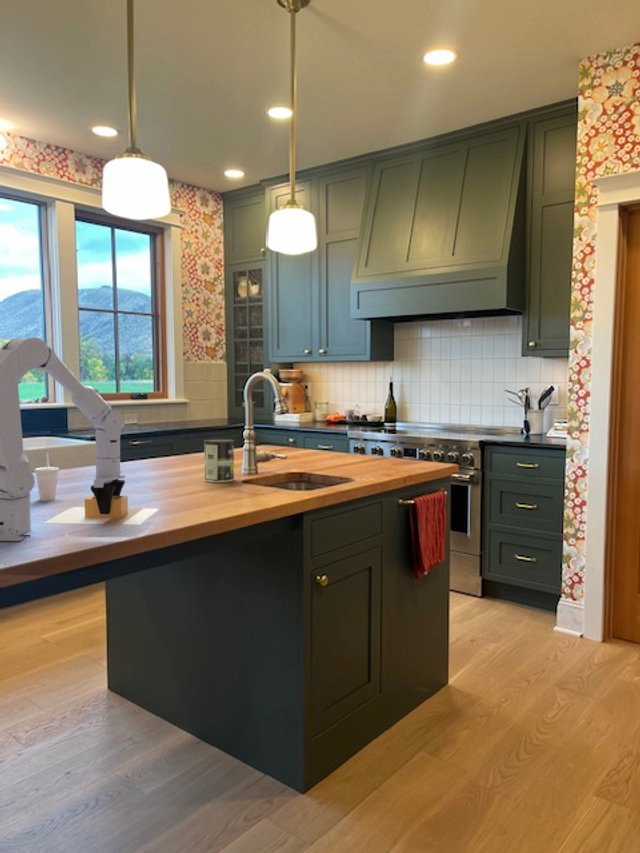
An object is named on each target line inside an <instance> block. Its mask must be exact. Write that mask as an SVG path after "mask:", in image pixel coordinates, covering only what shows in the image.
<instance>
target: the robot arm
mask: <svg viewBox="0 0 640 853" xmlns="http://www.w3.org/2000/svg"><path fill="white" fill-rule="evenodd" d="M32 370H39V371H42V372H46V373H47V374H48V375H49V376H50V377H52V378H53V379H54V380H55V381H56V382H57V383H58V384H60V385H61V386H62V388H64V389H65V390H66V391H67V392H68V393H69V394H70V395H71V401H72V402H71V403H72V404H73V405H74V406H75V407H76V408H77V409H78V410H79V411H80V412H81V413H82V414H83V415H85V417H86V418H87V419H88V420H89V422H90V426H91V428H92V429H94V430H95V476H94V477H95V478H94V479H93V484H92V485H90V491H91V492H92V495H94V496H95V498H96V500H97V504H98V508H99V512H100V514H109V513H110V508H111V500H112V496H121V492H122V490H123V488H124V485H125V483H126V480H124V478H126V474H122V470H121V434H122V433H121V432H122V430H123V429H124V427H125V424H126V420H124V418H123V415H122V413H120V411H118V410H115V409H112V404H111V403H110V402H107V401H106V400H105V399H104V398H103V397H102V396H101V395H100V394H99V393H100V391H99V389H98V388H97V387H92V386H90V385H83V383H81V382H80V380H79V379H78V378H77V377H76V375H74V373H73V372H72V371H71V369H70V368H68V366H66V364H65V363H64V362H63V361H62V360H61V359H60V358H59V356H58V355H57V353H56V351H55V349H53V348H51V347H50V346H48V344H47V343H46V342H45V341H44V340H43V339H41V338H39V337H28V338H13V339H10V340H8V342H7V343H5V344H4V345H3V346H1V347H0V542H20V541H22V540H24V539H26V538H28V537H29V536H30V534H25V533H28V532H29V533H30V532H31V531H32V527H31V526H32V522H31V521H32V518H31V514H32V513H31V491H32V490H33V488H34V486H35V483H36V479H35V475H34V473H33V472H32V471H31V469H30V462H29V460H28V458H27V456H26V454H25V452H24V442H23V428H22V418H21V406H20V394H19V393H20V392H19V391H20V390H19V381H20V380H21V379H22V378H23V377H25V375H26V374H27V373H29V372H31V371H32Z"/></svg>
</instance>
